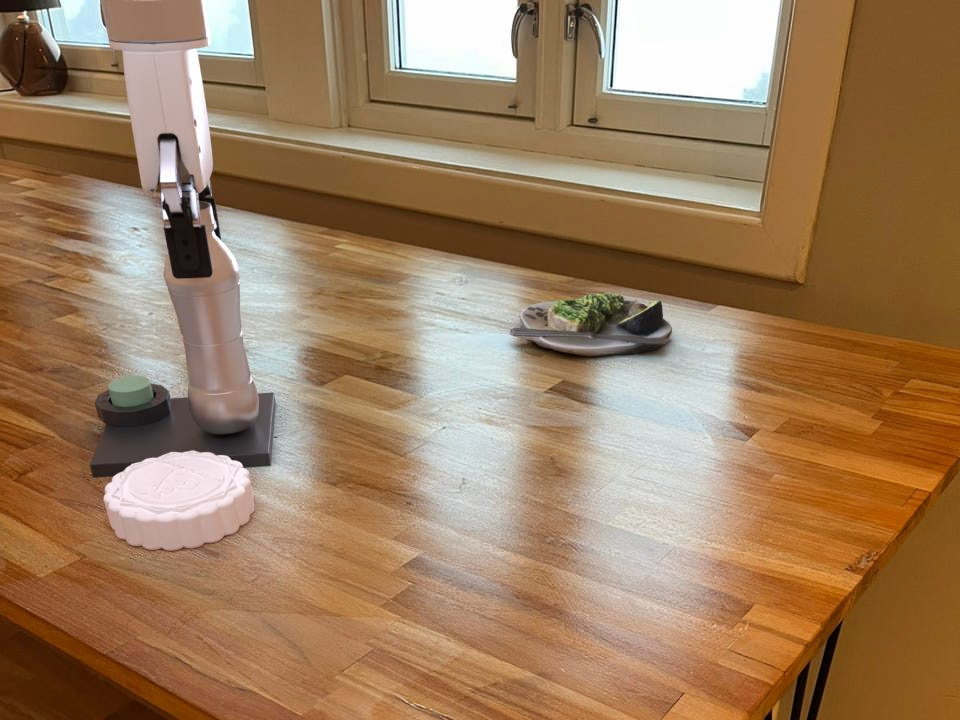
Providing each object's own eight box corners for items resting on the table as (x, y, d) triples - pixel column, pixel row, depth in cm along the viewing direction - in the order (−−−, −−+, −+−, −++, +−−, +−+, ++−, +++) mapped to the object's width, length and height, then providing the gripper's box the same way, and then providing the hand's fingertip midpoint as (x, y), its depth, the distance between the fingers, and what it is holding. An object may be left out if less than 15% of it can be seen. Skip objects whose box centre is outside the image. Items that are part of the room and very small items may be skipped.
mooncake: (80, 527, 81) (69, 489, 79) (184, 470, 89) (177, 434, 87) (183, 568, 76) (174, 528, 74) (284, 503, 84) (278, 466, 82)
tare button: (108, 410, 93) (104, 393, 92) (115, 393, 96) (111, 376, 95) (151, 407, 94) (147, 390, 93) (156, 391, 97) (152, 374, 96)
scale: (82, 479, 88) (73, 449, 86) (109, 412, 99) (102, 385, 97) (270, 466, 89) (266, 437, 88) (276, 402, 101) (272, 375, 99)
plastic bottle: (179, 435, 92) (131, 211, 79) (223, 408, 96) (184, 193, 84) (234, 448, 89) (194, 220, 77) (276, 419, 94) (245, 201, 82)
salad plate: (530, 373, 107) (531, 332, 104) (487, 319, 120) (487, 281, 118) (691, 355, 111) (696, 315, 108) (631, 305, 124) (635, 268, 121)
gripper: (124, 13, 79) (166, 235, 90) (84, 37, 66) (139, 295, 76) (217, 12, 80) (248, 232, 91) (196, 35, 66) (236, 291, 77)
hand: (198, 260), depth 83 cm, fingers open, 8 cm apart
